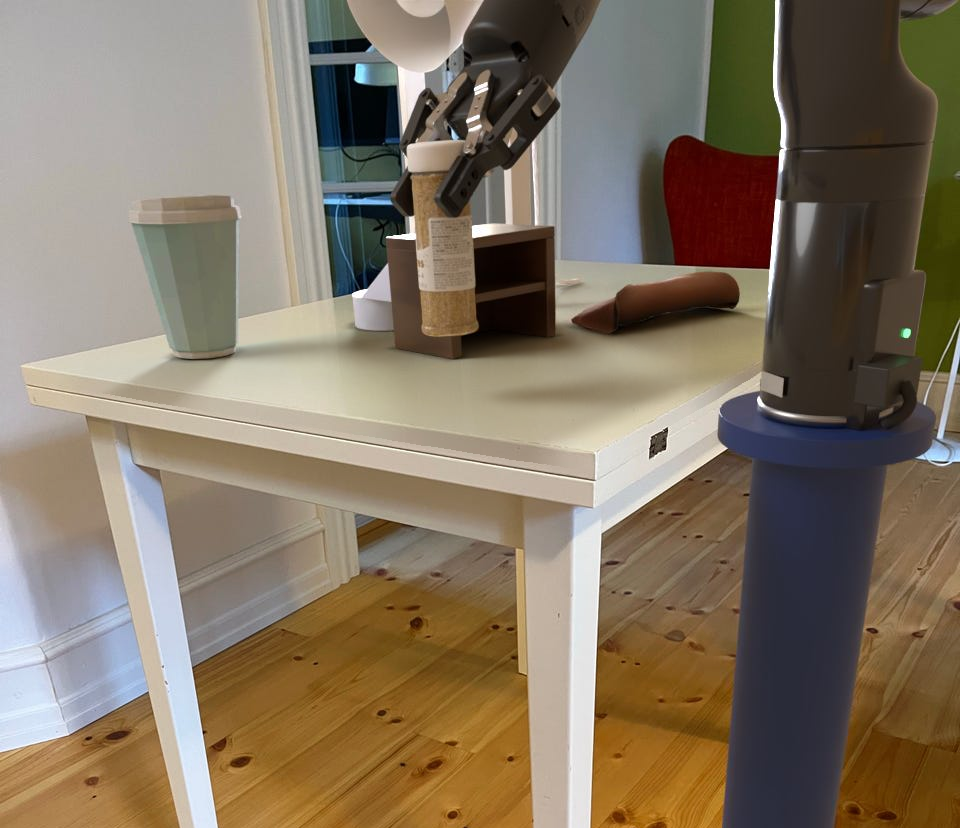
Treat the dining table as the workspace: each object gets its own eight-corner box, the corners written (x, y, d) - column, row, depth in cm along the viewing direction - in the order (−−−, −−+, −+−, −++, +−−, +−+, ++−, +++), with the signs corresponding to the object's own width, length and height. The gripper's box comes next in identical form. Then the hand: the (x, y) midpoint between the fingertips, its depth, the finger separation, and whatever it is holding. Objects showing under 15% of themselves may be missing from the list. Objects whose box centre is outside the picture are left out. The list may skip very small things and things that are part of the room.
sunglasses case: (683, 298, 115) (708, 247, 109) (721, 336, 112) (748, 286, 107) (564, 320, 106) (585, 266, 100) (602, 363, 103) (625, 309, 98)
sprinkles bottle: (421, 330, 79) (405, 143, 73) (477, 325, 79) (466, 138, 73) (422, 340, 75) (406, 143, 69) (482, 335, 75) (471, 138, 69)
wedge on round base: (475, 324, 109) (400, 313, 118) (472, 259, 106) (395, 253, 115) (412, 337, 104) (339, 325, 112) (407, 270, 101) (332, 262, 109)
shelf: (556, 335, 101) (554, 226, 97) (452, 359, 93) (445, 241, 88) (496, 326, 107) (492, 223, 103) (394, 348, 99) (385, 237, 95)
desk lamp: (338, 312, 121) (287, -149, 100) (511, 277, 141) (499, -112, 120) (460, 327, 108) (431, -200, 87) (632, 286, 128) (641, -149, 107)
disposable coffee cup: (151, 350, 104) (120, 195, 98) (252, 339, 108) (230, 188, 101) (159, 369, 96) (127, 200, 89) (270, 356, 99) (247, 192, 92)
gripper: (442, -11, 76) (332, 173, 74) (579, -42, 66) (455, 170, 64) (497, 68, 81) (394, 241, 80) (630, 50, 71) (517, 247, 70)
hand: (422, 208), depth 72 cm, fingers closed on sprinkles bottle, 4 cm apart
